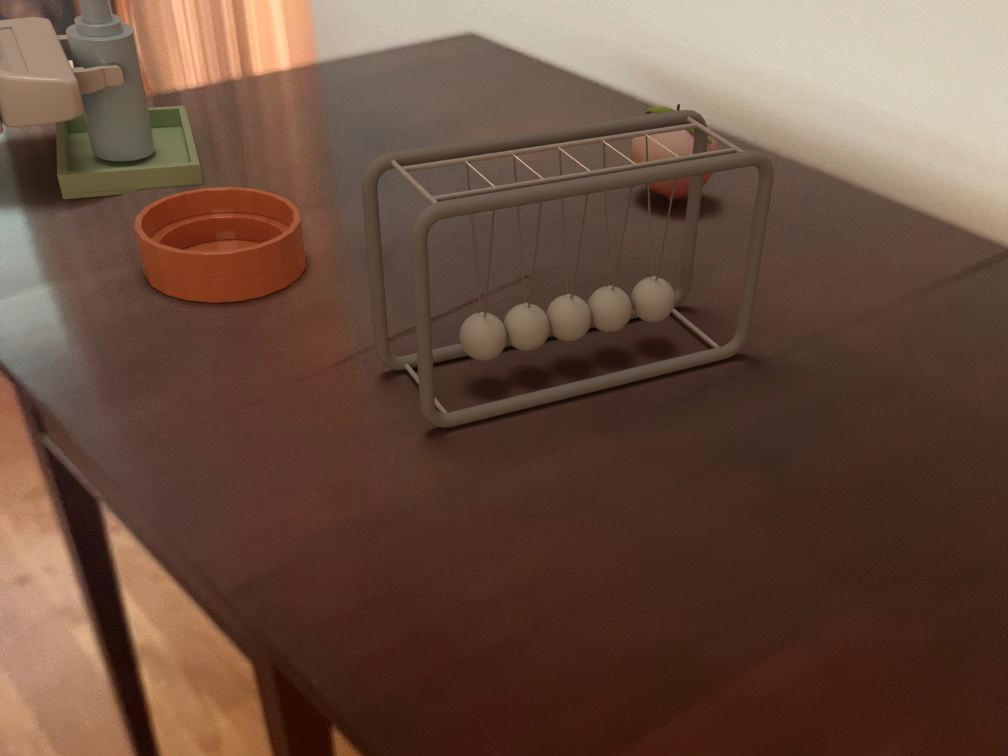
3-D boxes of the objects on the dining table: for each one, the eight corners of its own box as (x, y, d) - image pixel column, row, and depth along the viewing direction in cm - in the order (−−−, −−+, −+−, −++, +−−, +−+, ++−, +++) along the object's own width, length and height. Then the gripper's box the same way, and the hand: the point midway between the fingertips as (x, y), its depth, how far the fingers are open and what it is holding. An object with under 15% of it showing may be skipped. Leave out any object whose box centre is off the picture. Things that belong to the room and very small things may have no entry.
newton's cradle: (684, 303, 107) (706, 104, 95) (748, 356, 100) (780, 149, 89) (375, 371, 95) (356, 154, 84) (424, 436, 89) (412, 210, 77)
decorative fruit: (609, 200, 124) (615, 103, 117) (654, 178, 129) (662, 84, 122) (682, 226, 120) (692, 127, 113) (725, 202, 125) (737, 106, 118)
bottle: (114, 166, 121) (78, -6, 110) (80, 147, 124) (41, -23, 113) (168, 151, 125) (138, -17, 114) (133, 133, 128) (101, -33, 117)
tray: (204, 188, 121) (199, 164, 119) (63, 199, 117) (57, 175, 115) (189, 127, 133) (185, 105, 131) (61, 136, 129) (55, 113, 127)
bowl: (208, 324, 100) (198, 269, 96) (114, 269, 106) (102, 216, 103) (338, 272, 108) (332, 220, 105) (243, 224, 115) (235, 174, 111)
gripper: (-34, 69, 122) (104, 59, 127) (-14, 143, 109) (139, 128, 114) (-53, 5, 118) (91, -3, 123) (-34, 73, 105) (126, 61, 110)
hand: (115, 60), depth 119 cm, fingers closed on bottle, 6 cm apart
